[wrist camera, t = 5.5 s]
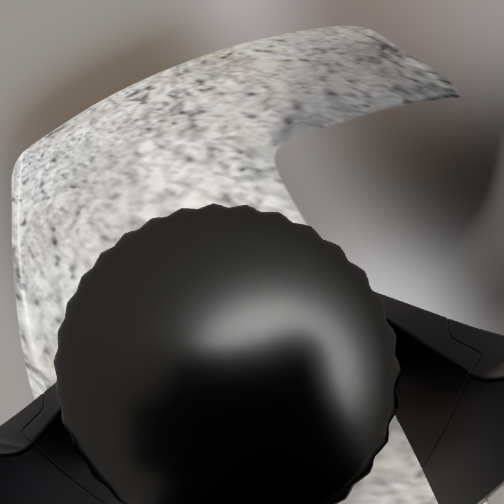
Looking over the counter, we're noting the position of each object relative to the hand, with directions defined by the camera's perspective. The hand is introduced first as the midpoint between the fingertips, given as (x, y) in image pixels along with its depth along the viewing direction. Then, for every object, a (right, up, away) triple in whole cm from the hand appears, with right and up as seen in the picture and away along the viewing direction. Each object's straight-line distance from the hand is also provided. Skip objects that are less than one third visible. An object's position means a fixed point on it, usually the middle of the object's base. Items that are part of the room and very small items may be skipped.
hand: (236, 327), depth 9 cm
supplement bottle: (+1, -4, +6) cm, 7 cm away
